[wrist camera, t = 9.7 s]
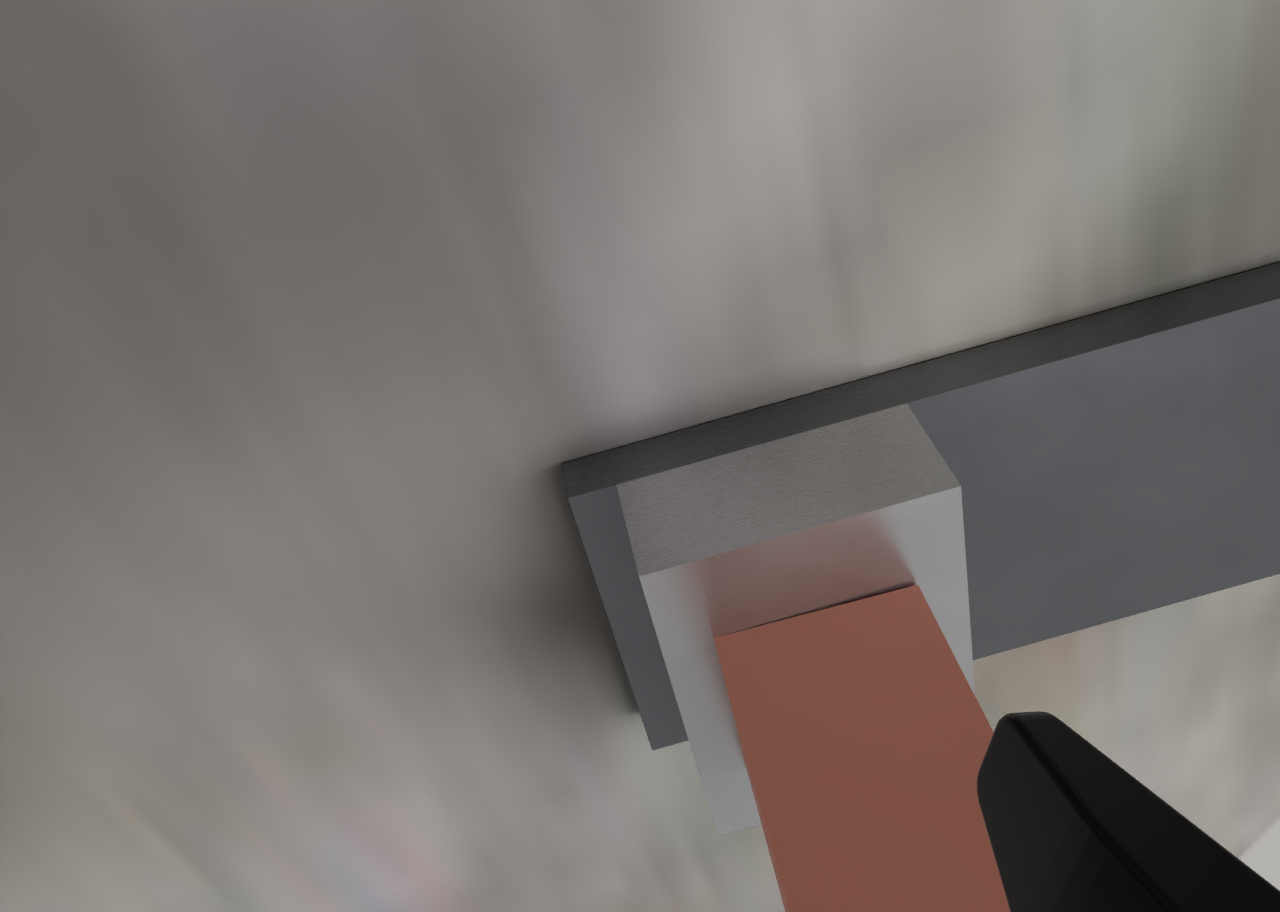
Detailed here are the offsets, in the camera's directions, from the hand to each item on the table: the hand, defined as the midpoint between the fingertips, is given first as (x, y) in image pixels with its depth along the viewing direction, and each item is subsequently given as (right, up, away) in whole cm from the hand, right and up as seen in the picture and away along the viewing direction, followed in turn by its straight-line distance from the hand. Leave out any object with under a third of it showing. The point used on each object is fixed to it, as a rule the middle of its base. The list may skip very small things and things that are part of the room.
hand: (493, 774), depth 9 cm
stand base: (+8, +2, +17) cm, 19 cm away
